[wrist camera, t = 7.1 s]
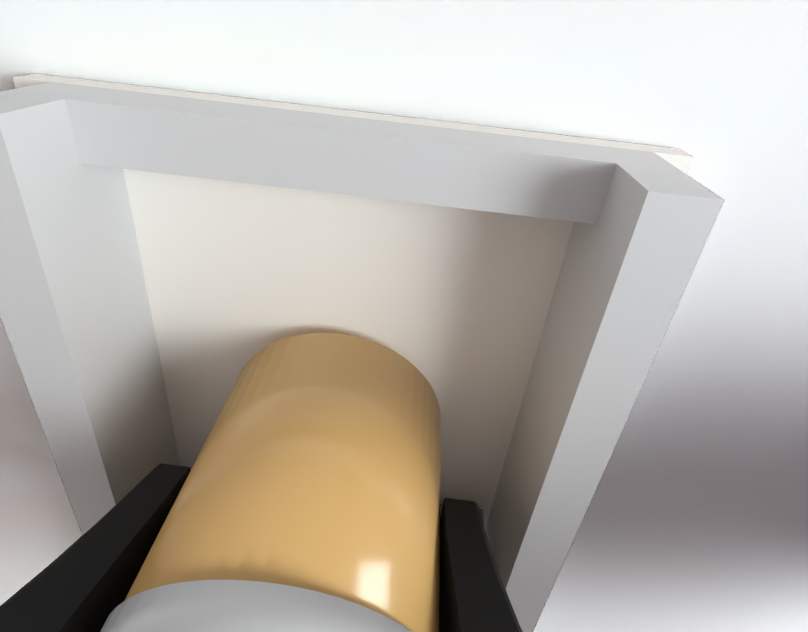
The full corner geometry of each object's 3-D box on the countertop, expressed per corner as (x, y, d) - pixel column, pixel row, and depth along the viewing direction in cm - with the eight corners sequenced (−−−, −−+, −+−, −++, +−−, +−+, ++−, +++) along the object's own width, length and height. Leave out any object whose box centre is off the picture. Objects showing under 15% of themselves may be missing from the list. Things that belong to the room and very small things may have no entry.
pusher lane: (35, 73, 9) (-389, 139, 5) (679, 148, 9) (930, 294, 5) (186, 659, 21) (109, 852, 16) (475, 693, 21) (485, 897, 16)
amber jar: (456, 339, 11) (470, 697, 5) (434, 493, 14) (428, 822, 8) (214, 318, 11) (-5, 649, 6) (244, 475, 14) (119, 788, 8)
